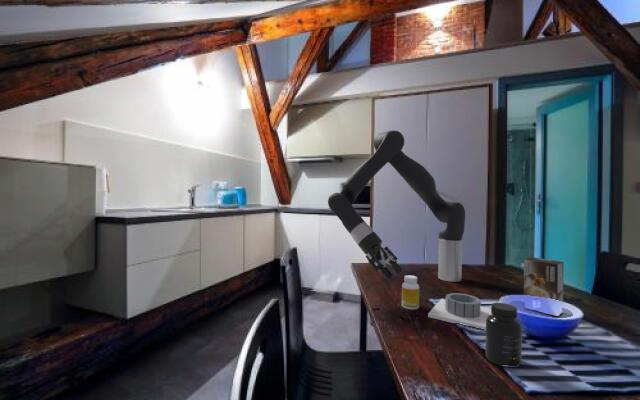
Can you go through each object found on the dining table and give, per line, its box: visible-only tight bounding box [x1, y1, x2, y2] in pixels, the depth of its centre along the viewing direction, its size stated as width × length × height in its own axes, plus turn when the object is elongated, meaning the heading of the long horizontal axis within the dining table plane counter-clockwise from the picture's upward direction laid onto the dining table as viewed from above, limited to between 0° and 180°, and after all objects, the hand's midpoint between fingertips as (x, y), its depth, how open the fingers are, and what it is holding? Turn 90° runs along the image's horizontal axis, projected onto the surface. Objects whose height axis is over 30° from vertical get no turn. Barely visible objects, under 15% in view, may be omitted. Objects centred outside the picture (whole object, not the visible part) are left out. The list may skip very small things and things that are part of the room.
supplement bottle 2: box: [484, 302, 523, 367], centre depth 66 cm, size 7×7×12 cm
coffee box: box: [523, 256, 564, 302], centre depth 95 cm, size 9×6×16 cm
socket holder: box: [427, 292, 492, 331], centre depth 91 cm, size 16×16×5 cm
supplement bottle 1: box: [401, 274, 420, 310], centre depth 97 cm, size 5×5×10 cm
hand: (396, 275), depth 100 cm, fingers open, 8 cm apart
